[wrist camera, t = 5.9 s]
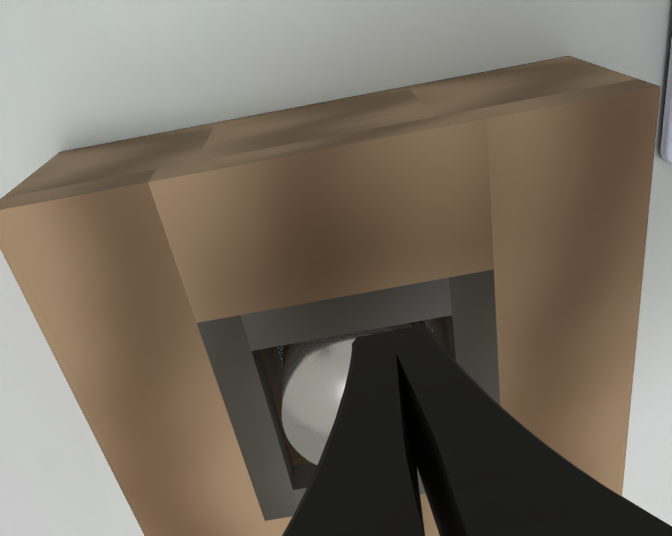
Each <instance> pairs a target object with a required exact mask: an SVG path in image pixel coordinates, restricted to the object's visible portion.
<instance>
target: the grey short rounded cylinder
mask: <svg viewBox="0 0 672 536" xmlns="http://www.w3.org/2000/svg"><path fill="white" fill-rule="evenodd" d="M418 325H425V322H424V320H423V321H417V322H411V323H406V324H400V325H395V326H389V327H383V328H378V329H372V330H366V331H361V332H355V333H350V334H344V335H338V336H333V337H327V338H322V339H316V340H310V341H305V342H299V343H293V344H288V345H284V355H283V385H282V423H283V428H284V431H285V434H286V436H287V438H288V440H289V441H290V443H291V445H292V446H293V447H294V448H295V449H296V451H297V452H298V453H300V454H301V455H302V456H303V457H304V458H306V459H307V460H308V461H310V462H312V463H313V464H315V465H318V463H319V460H320V458H321V455H322V452H323V450H324V447H325V445H326V442H327V439H328V437H329V434H330V432H331V429H332V426H333V424H334V421H335V418H336V415H337V411H338V408H339V405H340V401H341V398H342V395H343V391H344V388H345V384H346V380H347V375H348V371H349V366H350V360H351V353H352V343H353V342H354V340H355V339H356V338H357V337H361V336H366V335H371V334H376V333H381V332H387V331H392V330H397V329H402V328H407V327H412V326H418ZM425 326H426V325H425Z"/></svg>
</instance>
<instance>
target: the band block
mask: <svg viewBox="0 0 672 536" xmlns="http://www.w3.org/2000/svg"><path fill="white" fill-rule="evenodd" d="M659 96H660V86H657V85H654V84H651V83H648V82H645V81H642V80H639V79H636V78H633V77H630V76H627V75H624V74H621V73H618V72H615V71H612V70H609V69H606V68H603V67H600V66H597V65H594V64H591V63H588V62H585V61H582V60H579V59H576V58H573V57H570V56H566V57H561V58H555V59H550V60H545V61H540V62H534V63H529V64H524V65H518V66H513V67H508V68H503V69H497V70H492V71H487V72H481V73H476V74H471V75H466V76H460V77H455V78H450V79H444V80H439V81H434V82H429V83H423V84H418V85H413V86H407V87H402V88H397V89H391V90H386V91H381V92H376V93H370V94H365V95H360V96H354V97H349V98H344V99H339V100H333V101H328V102H323V103H317V104H312V105H307V106H302V107H296V108H291V109H286V110H280V111H275V112H270V113H265V114H259V115H254V116H249V117H243V118H238V119H233V120H227V121H222V122H217V123H212V124H206V125H201V126H196V127H190V128H185V129H180V130H175V131H169V132H164V133H159V134H153V135H148V136H143V137H138V138H132V139H127V140H122V141H116V142H111V143H106V144H101V145H95V146H90V147H85V148H79V149H74V150H69V151H63V152H59V153H58V154H57V155H56V156H54V157H53V158H52V159H51V160H49V161H48V162H47V163H45V164H44V165H43V166H42V167H40V168H39V169H38V170H37V171H35V172H34V173H33V174H32V175H30V176H29V177H28V178H26V179H25V180H24V181H23V182H21V183H20V184H19V185H18V186H16V187H15V188H14V189H13V190H11V191H10V192H9V193H7V194H6V195H5V196H4V197H2V198H1V199H0V249H1V251H2V253H3V255H4V257H5V259H6V261H7V263H8V265H9V267H10V269H11V271H12V273H13V275H14V277H15V279H16V281H17V283H18V285H19V287H20V289H21V291H22V293H23V295H24V297H25V299H26V301H27V303H28V305H29V307H30V309H31V311H32V313H33V315H34V317H35V319H36V321H37V322H38V324H39V326H40V328H41V330H42V332H43V334H44V336H45V338H46V340H47V342H48V344H49V346H50V348H51V350H52V352H53V354H54V356H55V358H56V360H57V362H58V364H59V366H60V368H61V370H62V372H63V374H64V376H65V378H66V380H67V382H68V384H69V386H70V388H71V390H72V392H73V394H74V396H75V398H76V400H77V402H78V404H79V406H80V408H81V410H82V412H83V414H84V416H85V418H86V420H87V422H88V424H89V426H90V428H91V430H92V432H93V434H94V436H95V438H96V440H97V442H98V444H99V446H100V448H101V450H102V452H103V454H104V456H105V458H106V460H107V462H108V464H109V466H110V468H111V470H112V472H113V474H114V476H115V478H116V480H117V482H118V484H119V486H120V488H121V490H122V492H123V494H124V496H125V498H126V500H127V501H128V503H129V505H130V507H131V509H132V511H133V513H134V515H135V517H136V519H137V521H138V523H139V525H140V527H141V529H142V531H143V533H144V535H145V536H282V535H283V533H284V531H285V529H286V528H287V526H288V524H289V522H290V520H291V519H292V517H293V515H294V513H295V511H296V509H297V507H298V505H299V503H300V501H301V499H302V497H303V495H304V493H305V491H306V489H307V487H308V485H309V483H310V481H311V478H312V476H313V474H314V472H315V469H316V467H317V465H315V464H313V463H312V462H310V461H308V460H307V459H306V458H304V457H303V456H302V455H301V454H300V453H298V452H297V451H296V449H295V448H294V447H293V446H292V445H291V443H290V441H289V440H288V438H287V436H286V434H285V431H284V428H283V423H282V385H283V367H282V363H281V359H280V356H279V352H278V348H277V346H282V345H288V344H293V343H299V342H305V341H310V340H316V339H322V338H327V337H333V336H338V335H344V334H350V333H355V332H361V331H366V330H372V329H378V328H383V327H389V326H395V325H400V324H406V323H411V322H417V321H423V320H428V319H433V327H434V335H435V337H436V338H437V339H438V341H439V342H440V343H441V344H442V346H443V347H444V348H445V349H446V351H447V352H448V353H449V354H450V355H451V356H452V357H453V359H454V360H455V361H456V362H457V363H458V364H459V365H460V366H461V367H462V369H463V370H464V371H465V372H466V373H467V374H468V375H469V376H470V377H471V378H472V379H473V380H474V381H475V382H476V383H477V384H478V385H479V386H480V387H481V388H482V389H483V390H484V391H485V392H486V393H487V394H488V395H489V396H490V397H491V398H492V399H494V400H495V401H496V402H497V403H498V404H499V405H500V406H501V407H502V408H503V409H504V410H506V411H507V412H508V413H509V414H510V415H511V416H513V417H514V418H515V419H516V420H517V421H518V422H519V423H521V424H522V425H523V426H524V427H525V428H527V429H528V430H529V431H530V432H531V433H533V434H534V435H535V436H536V437H538V438H539V439H540V440H541V441H543V442H544V443H545V444H546V445H548V446H549V447H550V448H552V449H553V450H554V451H556V452H557V453H559V454H560V455H561V456H563V457H564V458H565V459H567V460H568V461H569V462H571V463H572V464H573V465H575V466H576V467H578V468H579V469H581V470H582V471H584V472H585V473H587V474H588V475H590V476H591V477H592V478H594V479H595V480H597V481H598V482H600V483H601V484H603V485H604V486H606V487H607V488H609V489H610V490H612V491H614V492H615V493H617V494H619V495H620V496H622V489H623V479H624V468H625V457H626V447H627V436H628V426H629V415H630V404H631V394H632V383H633V372H634V362H635V351H636V340H637V330H638V319H639V308H640V298H641V287H642V276H643V266H644V255H645V245H646V234H647V223H648V213H649V202H650V191H651V181H652V170H653V159H654V149H655V138H656V127H657V117H658V106H659ZM417 474H418V482H419V490H420V498H421V506H422V514H423V522H424V530H425V536H440V535H439V532H438V529H437V526H436V523H435V520H434V517H433V514H432V511H431V508H430V505H429V502H428V499H427V496H426V493H425V490H424V487H423V484H422V481H421V478H420V475H419V472H418V469H417Z"/></svg>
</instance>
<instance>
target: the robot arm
mask: <svg viewBox="0 0 672 536" xmlns="http://www.w3.org/2000/svg"><path fill="white" fill-rule="evenodd" d="M660 151H661V157H662V158H663V160H665V161H666V162H668V163H670V164H672V39H671V49H670V59H669V69H668V79H667V89H666V100H665V110H664V120H663V130H662V140H661V150H660ZM417 469H418V472H419V475H420V478H421V481H422V484H423V487H424V490H425V493H426V496H427V499H428V502H429V505H430V508H431V511H432V514H433V517H434V520H435V523H436V526H437V529H438V532H439V535H440V536H672V526H670V525H668V524H667V523H665V522H663V521H662V520H660V519H658V518H657V517H655V516H653V515H652V514H650V513H648V512H647V511H645V510H643V509H642V508H640V507H639V506H637V505H635V504H634V503H632V502H630V501H629V500H627V499H625V498H624V497H622V496H620V495H619V494H617V493H615V492H614V491H612V490H610V489H609V488H607V487H606V486H604V485H603V484H601V483H600V482H598V481H597V480H595V479H594V478H592V477H591V476H590V475H588V474H587V473H585V472H584V471H582V470H581V469H579V468H578V467H576V466H575V465H573V464H572V463H571V462H569V461H568V460H567V459H565V458H564V457H563V456H561V455H560V454H559V453H557V452H556V451H554V450H553V449H552V448H550V447H549V446H548V445H546V444H545V443H544V442H543V441H541V440H540V439H539V438H538V437H536V436H535V435H534V434H533V433H531V432H530V431H529V430H528V429H527V428H525V427H524V426H523V425H522V424H521V423H519V422H518V421H517V420H516V419H515V418H514V417H513V416H511V415H510V414H509V413H508V412H507V411H506V410H504V409H503V408H502V407H501V406H500V405H499V404H498V403H497V402H496V401H495V400H494V399H492V398H491V397H490V396H489V395H488V394H487V393H486V392H485V391H484V390H483V389H482V388H481V387H480V386H479V385H478V384H477V383H476V382H475V381H474V380H473V379H472V378H471V377H470V376H469V375H468V374H467V373H466V372H465V371H464V370H463V369H462V367H461V366H460V365H459V364H458V363H457V362H456V361H455V360H454V359H453V357H452V356H451V355H450V354H449V353H448V352H447V351H446V349H445V348H444V347H443V346H442V344H441V343H440V342H439V341H438V339H437V338H436V337H435V335H434V334H433V333H432V331H431V330H430V328H428V327H426V326H425V325H418V326H412V327H407V328H402V329H397V330H392V331H387V332H381V333H376V334H371V335H366V336H361V337H357V338H356V339H355V340H354V342H353V343H352V353H351V360H350V366H349V371H348V375H347V380H346V384H345V388H344V391H343V395H342V398H341V401H340V405H339V408H338V411H337V415H336V418H335V421H334V424H333V426H332V429H331V432H330V434H329V437H328V439H327V442H326V445H325V447H324V450H323V452H322V455H321V458H320V460H319V463H318V465H317V467H316V469H315V472H314V474H313V476H312V478H311V481H310V483H309V485H308V487H307V489H306V491H305V493H304V495H303V497H302V499H301V501H300V503H299V505H298V507H297V509H296V511H295V513H294V515H293V517H292V519H291V520H290V522H289V524H288V526H287V528H286V529H285V531H284V533H283V535H282V536H425V530H424V522H423V514H422V506H421V498H420V490H419V482H418V474H417Z"/></svg>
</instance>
